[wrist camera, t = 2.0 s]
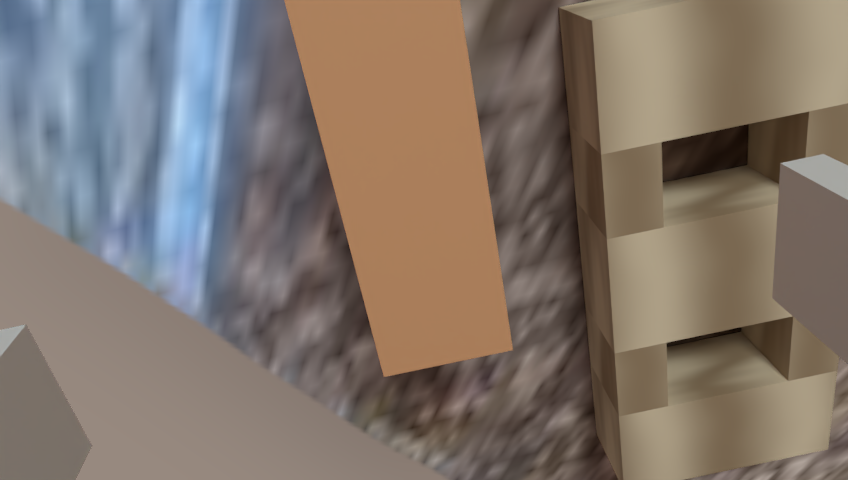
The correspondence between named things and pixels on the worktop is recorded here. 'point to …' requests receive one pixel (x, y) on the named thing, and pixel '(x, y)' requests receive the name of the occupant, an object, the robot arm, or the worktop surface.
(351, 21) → the orange-brown block
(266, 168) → the worktop surface
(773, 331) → the beige flat slotted piece
